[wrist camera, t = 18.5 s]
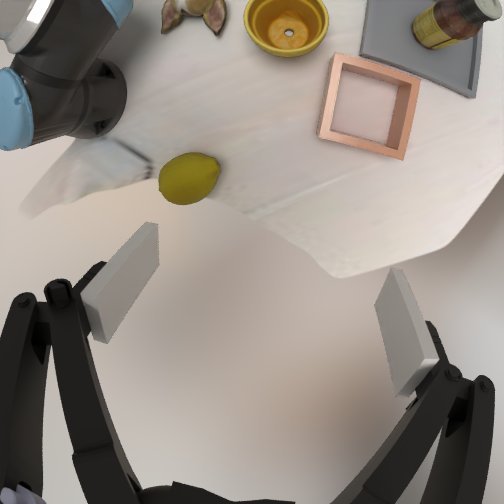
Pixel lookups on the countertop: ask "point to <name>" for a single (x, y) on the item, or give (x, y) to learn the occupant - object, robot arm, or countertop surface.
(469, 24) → the sauce bottle
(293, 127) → the countertop surface
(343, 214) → the countertop surface
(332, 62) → the terracotta holder
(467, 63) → the grey tray
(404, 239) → the countertop surface
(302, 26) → the plant pot
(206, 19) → the ceramic sculpture
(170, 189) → the lemon
